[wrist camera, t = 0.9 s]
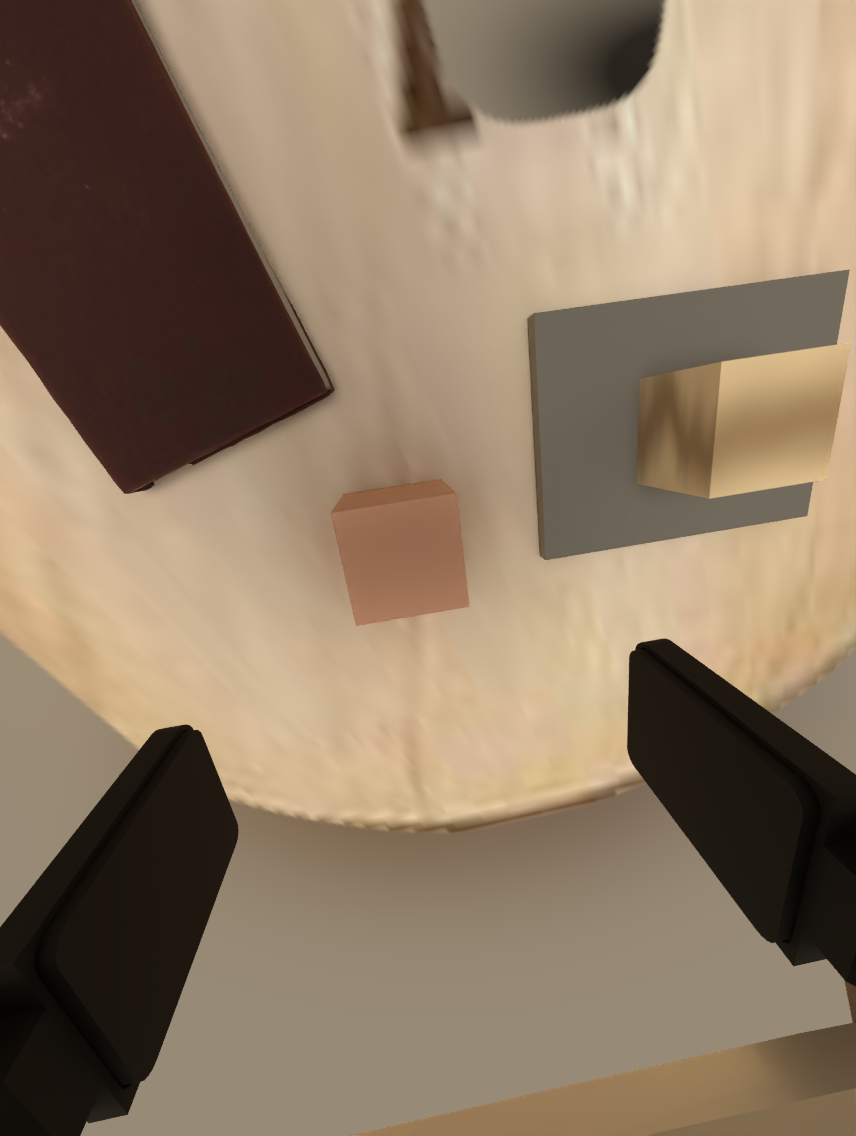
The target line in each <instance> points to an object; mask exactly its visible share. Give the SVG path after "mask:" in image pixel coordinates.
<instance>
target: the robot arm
mask: <svg viewBox="0 0 856 1136" xmlns="http://www.w3.org/2000/svg"><path fill="white" fill-rule="evenodd" d="M627 749H628V754H629V757H630V760H631V762H632V764H633V765H634V767H635V768H636V769H637V771H638V772H639V773H640V775H641V776H642V777H643V779H644V780H645V781H646V783H647V784H648V785H649V787H650V788H651V789H652V791H653V792H654V794H655V795H656V796H657V798H658V799H659V800H660V802H661V803H662V804H663V805H664V807H665V808H666V810H667V811H668V812H669V813H670V815H671V816H672V818H673V819H674V820H675V822H676V823H677V824H678V826H679V827H680V828H681V830H682V831H683V832H684V833H685V835H686V836H687V838H688V839H689V840H690V842H691V843H692V844H693V846H694V847H695V848H696V850H697V851H698V852H699V854H700V855H701V856H702V858H703V859H704V860H705V862H706V863H707V864H708V866H709V867H710V868H711V870H712V871H713V872H714V874H715V875H716V877H717V878H718V879H719V880H720V882H721V883H722V884H723V886H724V887H725V889H726V890H727V891H728V892H729V894H730V895H731V897H732V898H733V899H734V901H735V902H736V903H737V905H738V906H739V907H740V909H741V910H742V911H743V913H744V914H745V915H746V917H747V918H748V919H749V921H750V922H751V923H752V925H753V926H754V927H755V929H756V930H757V931H758V932H759V933H760V935H761V936H762V937H764V938H765V939H766V940H767V941H769V942H771V943H774V942H776V944H777V945H778V946H779V948H780V949H781V950H782V952H783V953H784V954H785V956H786V957H787V958H788V959H789V961H790V962H791V963H792V965H793V966H797V965H801V964H806V963H810V962H814V961H819V960H824V959H827V960H828V961H829V962H830V963H831V964H832V965H833V966H834V968H835V969H836V970H837V971H838V973H839V974H840V975H841V976H842V977H843V978H844V980H845V985H846V990H847V996H848V1001H849V1006H850V1011H851V1016H852V1021H853V1023H850V1024H845V1025H841V1026H835V1027H830V1028H825V1029H820V1030H815V1031H810V1032H805V1033H799V1034H795V1035H791V1036H786V1037H782V1038H777V1039H773V1040H768V1041H764V1042H760V1043H755V1044H750V1045H746V1046H741V1047H737V1048H732V1049H728V1050H723V1051H720V1052H715V1053H710V1054H705V1055H701V1056H697V1057H692V1058H688V1059H683V1060H679V1061H674V1062H670V1063H665V1064H661V1065H656V1066H652V1067H648V1068H643V1069H639V1070H634V1071H630V1072H625V1073H621V1074H617V1075H612V1076H608V1077H603V1078H598V1079H594V1080H590V1081H586V1082H581V1083H577V1084H573V1085H568V1086H564V1087H559V1088H555V1089H550V1090H546V1091H542V1092H538V1093H533V1094H529V1095H525V1096H520V1097H516V1098H511V1099H507V1100H503V1101H498V1102H494V1103H490V1104H485V1105H481V1106H477V1107H472V1108H468V1109H464V1110H459V1111H455V1112H451V1113H446V1114H442V1115H438V1116H433V1117H429V1118H425V1119H421V1120H416V1121H412V1122H408V1123H404V1124H399V1125H395V1126H390V1127H386V1128H382V1129H378V1130H373V1131H369V1132H364V1133H360V1134H356V1135H352V1136H856V774H854V773H853V772H851V771H850V770H849V769H847V768H846V767H844V766H843V765H842V764H840V763H839V762H837V761H836V760H835V759H833V758H832V757H831V756H829V755H828V754H827V753H825V752H824V751H822V750H821V749H820V748H818V747H817V746H815V745H814V744H813V743H811V742H810V741H809V740H807V739H806V738H804V737H803V736H802V735H800V734H799V733H798V732H796V731H795V730H793V729H792V728H791V727H789V726H788V725H786V724H785V723H784V722H782V721H781V720H780V719H778V718H777V717H775V716H774V715H773V714H771V713H770V712H769V711H767V710H766V709H764V708H763V707H762V706H760V705H759V704H757V703H756V702H755V701H753V700H752V699H751V698H749V697H748V696H746V695H745V694H744V693H742V692H741V691H740V690H738V689H737V688H735V687H734V686H733V685H731V684H730V683H728V682H727V681H726V680H724V679H723V678H722V677H720V676H719V675H717V674H716V673H715V672H713V671H712V670H711V669H709V668H708V667H706V666H705V665H704V664H702V663H701V662H699V661H698V660H697V659H695V658H694V657H693V656H691V655H690V654H688V653H687V652H686V651H684V650H683V649H682V648H680V647H679V646H677V645H676V644H675V643H673V642H672V641H670V640H668V639H658V640H653V641H647V642H642V643H639V644H637V646H636V650H635V651H632V652H631V653H630V657H629V696H628V738H627ZM237 839H238V824H237V821H236V818H235V816H234V813H233V811H232V808H231V806H230V803H229V801H228V798H227V796H226V793H225V791H224V788H223V786H222V783H221V781H220V778H219V776H218V773H217V771H216V768H215V766H214V763H213V761H212V758H211V756H210V753H209V751H208V748H207V746H206V743H205V741H204V738H203V736H202V734H201V732H200V731H199V730H193V728H192V727H191V726H190V725H180V726H174V727H169V728H163V729H159V730H156V731H155V732H154V733H153V734H152V735H151V736H150V737H149V738H148V740H147V741H146V742H145V744H144V745H143V746H142V747H141V749H140V750H139V751H138V753H137V754H136V755H135V756H134V758H133V759H132V760H131V761H130V763H129V764H128V766H127V767H126V768H125V769H124V770H123V772H122V773H121V774H120V775H119V777H118V778H117V779H116V781H115V782H114V783H113V784H112V786H111V787H110V788H109V789H108V791H107V792H106V793H105V795H104V796H103V797H102V798H101V800H100V801H99V802H98V803H97V805H96V806H95V807H94V809H93V810H92V811H91V812H90V814H89V815H88V816H87V817H86V819H85V820H84V821H83V823H82V824H81V825H80V826H79V828H78V829H77V830H76V832H75V833H74V834H73V835H72V837H71V838H70V839H69V841H68V842H67V843H66V844H65V846H64V847H63V848H62V849H61V851H60V852H59V853H58V855H57V856H56V857H55V858H54V859H53V861H52V862H51V863H50V865H49V866H48V867H47V868H46V870H45V871H44V872H43V874H42V875H41V876H40V877H39V879H38V880H37V881H36V883H35V884H34V885H33V886H32V888H31V889H30V890H29V891H28V893H27V894H26V895H25V896H24V898H23V899H22V900H21V902H20V903H19V904H18V905H17V907H16V908H15V909H14V910H13V912H12V913H11V914H10V916H9V917H8V918H7V919H6V921H5V922H4V923H3V924H2V926H1V927H0V1136H80V1135H81V1132H82V1130H83V1128H84V1126H85V1123H86V1121H87V1122H88V1123H92V1122H97V1121H101V1120H106V1119H110V1118H114V1117H119V1116H124V1115H128V1112H129V1110H130V1107H131V1104H132V1102H133V1099H134V1097H135V1094H136V1091H137V1089H138V1086H139V1083H140V1082H141V1081H144V1080H145V1079H146V1078H147V1077H148V1076H149V1074H150V1072H151V1071H152V1069H153V1067H154V1065H155V1062H156V1060H157V1058H158V1055H159V1052H160V1049H161V1047H162V1044H163V1041H164V1039H165V1036H166V1033H167V1030H168V1028H169V1025H170V1022H171V1020H172V1017H173V1014H174V1012H175V1009H176V1006H177V1003H178V1000H179V998H180V995H181V993H182V990H183V987H184V984H185V982H186V979H187V976H188V973H189V970H190V968H191V965H192V963H193V960H194V957H195V954H196V952H197V949H198V946H199V944H200V941H201V938H202V935H203V933H204V930H205V927H206V925H207V922H208V919H209V916H210V913H211V911H212V908H213V906H214V903H215V900H216V897H217V895H218V892H219V889H220V886H221V884H222V881H223V878H224V875H225V873H226V870H227V868H228V865H229V862H230V859H231V857H232V854H233V851H234V848H235V846H236V843H237Z"/></svg>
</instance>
